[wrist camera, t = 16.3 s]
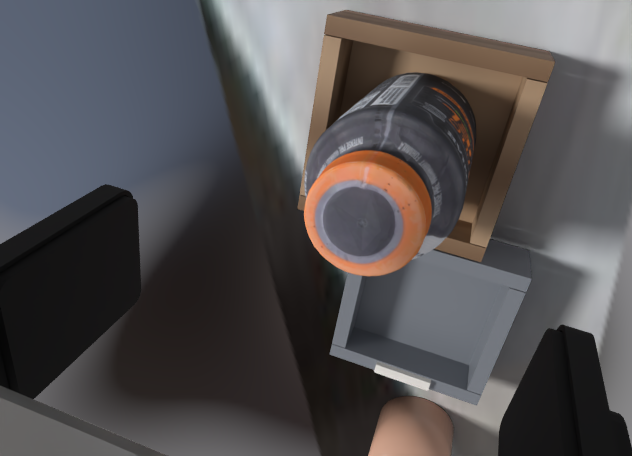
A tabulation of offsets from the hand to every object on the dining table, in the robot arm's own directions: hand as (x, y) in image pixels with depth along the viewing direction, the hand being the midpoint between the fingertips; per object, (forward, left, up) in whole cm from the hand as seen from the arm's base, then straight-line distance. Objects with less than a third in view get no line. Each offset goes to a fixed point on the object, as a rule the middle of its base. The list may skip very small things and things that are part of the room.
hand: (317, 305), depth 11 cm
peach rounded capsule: (+21, +5, -17) cm, 27 cm away
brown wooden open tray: (+1, 0, -17) cm, 17 cm away
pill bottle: (+1, 0, -17) cm, 17 cm away
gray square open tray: (+10, +3, -17) cm, 20 cm away
